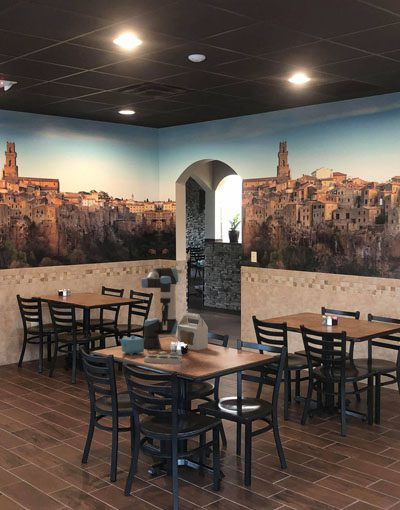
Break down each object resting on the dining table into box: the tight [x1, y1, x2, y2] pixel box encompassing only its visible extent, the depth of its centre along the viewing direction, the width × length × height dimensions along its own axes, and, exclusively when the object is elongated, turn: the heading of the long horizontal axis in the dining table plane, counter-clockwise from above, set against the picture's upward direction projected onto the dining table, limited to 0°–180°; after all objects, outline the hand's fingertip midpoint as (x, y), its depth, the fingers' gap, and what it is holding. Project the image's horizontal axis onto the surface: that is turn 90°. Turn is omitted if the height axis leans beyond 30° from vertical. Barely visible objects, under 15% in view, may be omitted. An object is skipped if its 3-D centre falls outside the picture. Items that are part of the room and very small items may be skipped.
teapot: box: [117, 335, 145, 356], centre depth 490 cm, size 22×11×14 cm, turn 123°
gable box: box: [177, 311, 209, 351], centre depth 520 cm, size 22×13×28 cm, turn 46°
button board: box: [143, 354, 183, 365], centre depth 465 cm, size 12×25×3 cm, turn 80°
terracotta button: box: [147, 350, 158, 355], centre depth 466 cm, size 6×6×2 cm
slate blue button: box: [169, 351, 179, 356], centre depth 464 cm, size 6×6×2 cm
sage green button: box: [158, 351, 168, 356], centre depth 465 cm, size 6×6×2 cm
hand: (164, 329), depth 469 cm, fingers closed
